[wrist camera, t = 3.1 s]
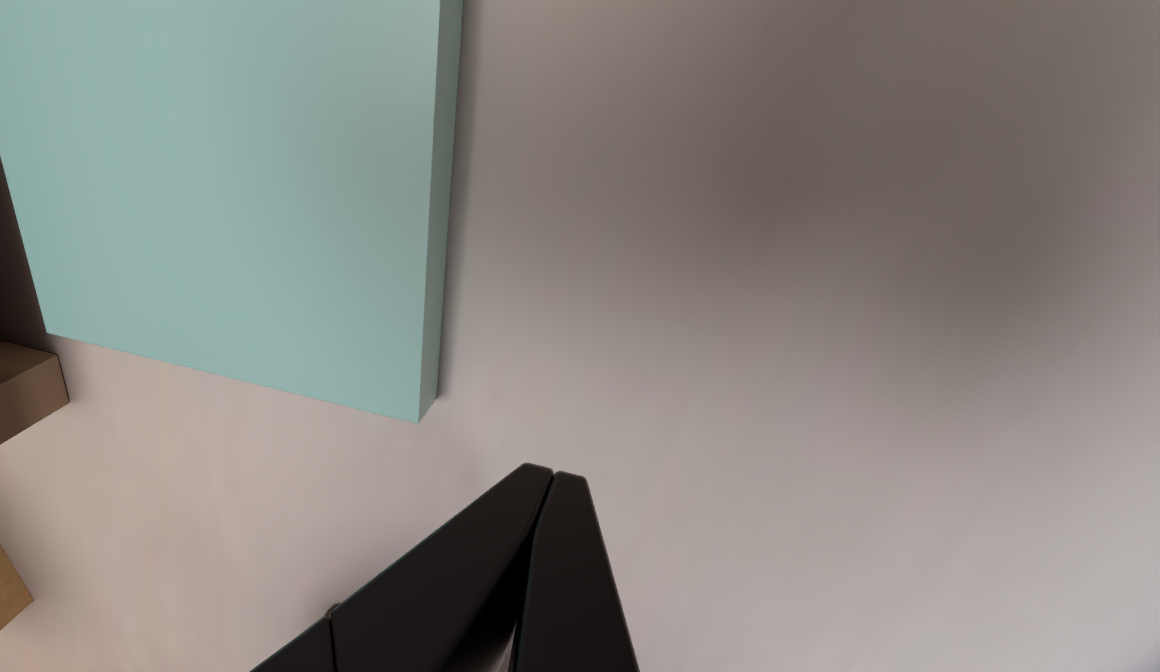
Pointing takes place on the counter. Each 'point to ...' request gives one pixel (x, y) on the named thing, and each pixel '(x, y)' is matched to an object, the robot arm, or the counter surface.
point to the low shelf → (28, 388)
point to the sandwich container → (11, 591)
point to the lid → (240, 184)
